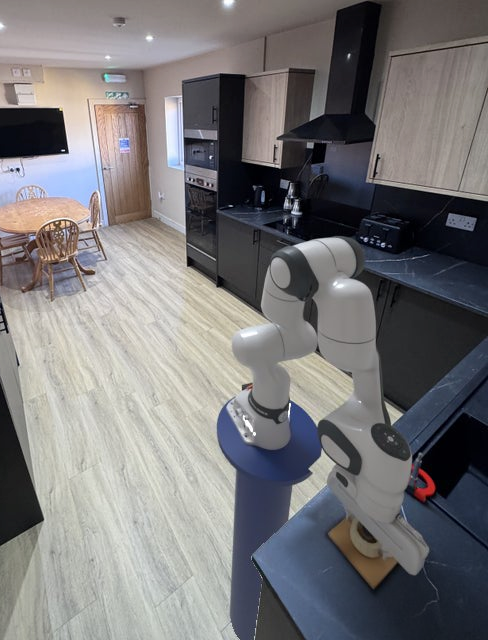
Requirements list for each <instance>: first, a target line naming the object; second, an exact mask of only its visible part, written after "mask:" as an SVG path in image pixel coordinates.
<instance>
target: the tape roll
mask: <svg viewBox="0 0 488 640" xmlns="http://www.w3.org/2000/svg"><path fill="white" fill-rule="evenodd" d="M362 526H363V524H362V523H361V522H360V521H359V520H358V519H357V518H356V517H355V518H354V519H353V520H352V524H351V529H350V537H351V540H352V542H353V544H354V545H355V547H356V548H357V549H358V551H360V552H361V553H362V554H364V555H365V556H368V557H371V558H374V557H378V556H379V554H378V552H379V551H378V550H379V548H381V547H382V545H381V543H380V542H379V541H378V540H377V539H376V538H375V537H374V539H375V540H376V543H373V544H372V543H368V542H367V541H365V540H363V539H362V537H361V536H360V535H359V533H358V531H357V529H362Z"/></svg>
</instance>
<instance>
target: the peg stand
mask: <svg viewBox="0 0 488 640" xmlns="http://www.w3.org/2000/svg"><path fill="white" fill-rule="evenodd" d="M350 529H351V523H350V522H349V521H348V520H347V519H346V517H344V518H343V519H342V520H341V521H340V522H339V523H337V525H335V526H334V527H333V528H332V529H331V530H330V531H329V532H328V534H327V536H328V537H329V538H330V540H331V541H332V542H333V543H334V545H335V546H336V547H337V549H339V550H340V552H341V553H342V554H343V555H344V557H346V559H347V560H348V561H349V562H350V564H351V565H352V566H353V567H354V568H355V570H356V571H357V572H358V573H359V575H360V576H361V577H362V578H363V579H364V581H365V582H366V583H367V584H368V585H369V586H370V588H371V589H372V590H375V589H376V588H377V587H378V586H379V585H380V583H382V582H383V580H384V579H385V578H386V577H387V575H389V573H390V572H392V570H393V569H394V568H395V566H397V565H398V564H399V563H398V561H397V560H396V559H395V558H394V557H393V556H392V557H388V558H387V559H386V560H385V561H384V560H383V559H382V557H381V556H380V555H379V556H378V557H374V558H371V557H368V556H365V555H364V554H362V553H361V552H360V551H358V549H357V548H356V547H355V545H354V544H353V542H352V540H351V537H350ZM357 531H358V533H359V535H360V536H361V537H362V539H363V540H365V541H367V542H368V543H372V544H373V543H376V540H375V539H374V536H373V535H372V534H371V533H370V532H369V531H368V530H367V529H366V528H365V527H364V525H363V526H362V529H357Z"/></svg>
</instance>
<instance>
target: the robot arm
mask: <svg viewBox="0 0 488 640" xmlns="http://www.w3.org/2000/svg"><path fill="white" fill-rule="evenodd" d="M365 265H366V255H365V252H364V249H363V248H362V245H361V244H360V243H359V242H358V241H357V240H356V239H354V238H352V237H348V236H342V235H334V236H331V237H323V238H322V237H321V238H315V239H310V240H308V241H304V242H300V243H297V244H294V245H286V246H285V247H282V248H279V249H278V250H277V251H275V252H274V253H273V254H272V255H271V257H270V261H269V265H268V267H267V271H266V274H265V279H264V283H263V289H262V297H261V302H260V307H261V311H262V314H263V316H264V317H265V318H267V320H269V321H270V322H268V323H263V324H255V325H250V326H247V327H244V328H242V329H239V330H237V331H235V333H234V334H233V336H232V339H231V352H232V354H233V357H234V358H235V360H236V361H237V362H238V363H239V364H240V365H242V366H244V367H246V368H247V369H249V371H250V373H251V377H252V382H248V383H244V384H241V391H240V392H238V393H237V394H236V395H235V396H236V397H235V396H234V397H235V398H234V397H233V398H234V399H233V400H231V401H230V402H229V403H228V405H227V407H226V410H227V412H228V414H229V416H230V418H231V419H232V421H233V423H234V425H235V427H236V429H237V430H238V432H239V434H240V436H241V438H242V439H243V441H244V443H245V444H247V445H256V446H259V447H261V448H264V449H268V450H277V449H280V448H283V447H284V446H286V445H287V444H288V442H289V440H290V436H291V433H290V428H289V423H290V417H289V411H290V400H291V397H290V390H291V376H290V374H289V372H288V371H287V369H286V368H285V367H284V366H283V365H280V363H283V362H286V361H293V360H298V359H302V358H304V357H307V356H309V355H311V354H313V353H315V352H316V350H317V348H318V349H319V352H320V354H321V355H322V357H323V358H324V360H325V361H327V363H329V364H330V365H331V366H333V367H335V368H336V369H339V370H341V371H344V372H348V373H351V376H352V386H353V391H352V394H350V397H349V398H347V400H346V401H345V402H344V403H343V404H341V405H339V406H338V407H337V408H335V409H334V410H332V411H331V412H329V413H328V414H327V415H326V416H324V417H323V418H322V419H320V420H319V421H318V423H317V425H316V426H317V433H318V438H319V442H320V444H321V447H322V451H323V453H324V454H325V455H326V456H327V457H328V458H329V459H330V460H331V461H332V463H334V464H335V465H333V466H332V469H331V471H330V472H329V473H328V476H327V480H326V485H327V488H328V489H329V491H330V492H331V493H332V494H333V495H334V497H336V498H337V500H338V501H340V503H342V506H343V509H344V512H345V514H346V515H345V518H346V519H347V520H348V521H349V522H350V523H351V524H352V520H353V519H354V518H355V517H356V518H357V519H358V520H359V521H360V522H361V523H362V524H363V525H364V527H365V528H366V529H367V530H368V531H369V532H370V533H371V534H372V535H373V536H374V537H375V538H376V539H377V540H378V541H379V542H380V543H381V545H382V547H381V548H379V550H378V551H379V552H378V554H379V555H380V556H381V557H382V559H383V560H384V561H385V560H386V559H387V558H388V557H392V556H393V557H394V558H395V559H396V560H397V561H398V563H397V564H399V565H400V566H401V567H402V568H403V569H404V570H405V571H406V572H407V573H408V574H409V575H411V576H417V575H418V574H419V573H420V571H421V570H422V569H423V567H424V565H425V562H426V559H427V558H428V556H429V553H430V547H429V545H428V544H427V542H426V541H425V539H424V537H423V535H422V534H421V533H420V532H419V531H418V530H417V529H415V528H414V527H413V526H412V525H411V524H410V523H409V521H407V520H406V519H405V518H404V517H403V516H402V515H401V514H400V512H401V509H402V506H403V504H404V503H403V502H404V499H405V491H406V490H405V489H406V487H407V486H408V482H409V479H410V474H412V471H411V468H412V465H413V453H412V450H411V446H410V444H409V442H408V440H407V438H406V437H405V436H404V435H403V434H402V433H401V432H400V431H399V430H398V429H396V428H395V427H393V426H392V422H391V421H392V420H391V417H390V414H389V411H388V409H387V405H386V402H385V396H384V383H383V370H382V369H383V367H382V361H381V355H380V352H379V350H378V348H377V320H376V310H375V303H374V298H373V294H372V291H371V289H370V288H369V287H368V286H367V285H366V284H365V283H363V282H362V281H360V280H358V279H355V278H356V277H358V276H359V275H360V274H361V273H362V272H363V270H364V268H365ZM311 299H312V300H313V301H314V303H315V304H316V308H317V332H316V330H315V328H314V327H313V325H311V324H310V322H308V321H307V320H305V318H304V310H305V304H306V302H309V301H310V300H311Z"/></svg>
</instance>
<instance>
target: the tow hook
mask: <svg viewBox="0 0 488 640" xmlns="http://www.w3.org/2000/svg"><path fill="white" fill-rule="evenodd" d="M423 456H424V455H423V453H422V452H418V454H417V458H415V462H414V464H412V468H411V474H410V479H409V482H408V486H407V487H406V489H405V490H404V491H406V492H407V493H409V494H411V495H412V496H414V497H415V498H417V499H418V500H419V501H421V502H422V503H425V502H426V499H427V498H428V497H432V496H433V495H434V494H435V492H436V485H435V483H434V480H433V479H432V477H430V475H428V473H427V472H426V471H424V470H423V469H421V466H422V463H423V461H422V460H423V459H422V458H423ZM418 475H419V476H421V478H422V479H424V481H425V483H426V485H427V487H426V488H420V487H418V485H417V483H418V477H419V476H418Z"/></svg>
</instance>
